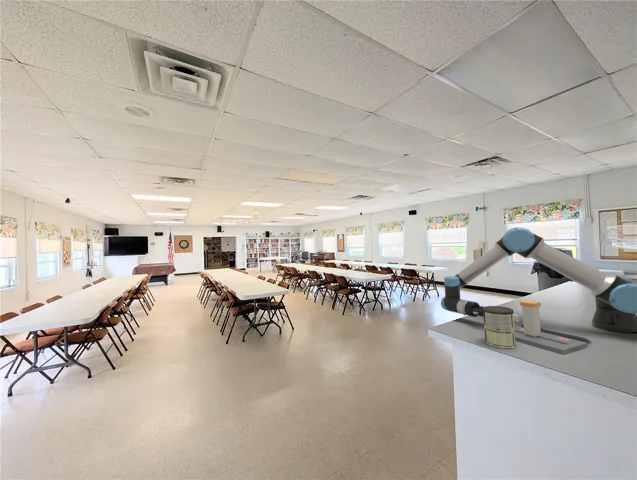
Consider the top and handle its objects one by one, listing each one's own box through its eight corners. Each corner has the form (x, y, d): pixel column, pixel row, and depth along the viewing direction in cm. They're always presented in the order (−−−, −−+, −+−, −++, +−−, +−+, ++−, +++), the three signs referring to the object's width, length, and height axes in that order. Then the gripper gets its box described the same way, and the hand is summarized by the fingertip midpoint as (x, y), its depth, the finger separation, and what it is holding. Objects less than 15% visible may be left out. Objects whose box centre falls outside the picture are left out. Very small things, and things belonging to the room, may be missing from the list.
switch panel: (491, 333, 116) (491, 330, 116) (514, 328, 121) (513, 325, 122) (563, 354, 91) (563, 350, 91) (587, 346, 97) (587, 342, 97)
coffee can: (479, 339, 109) (477, 306, 110) (505, 339, 108) (503, 305, 109) (493, 348, 99) (491, 311, 100) (522, 348, 98) (519, 311, 98)
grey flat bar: (521, 329, 120) (520, 324, 120) (527, 327, 122) (526, 323, 122) (587, 345, 99) (586, 339, 99) (593, 343, 100) (592, 337, 101)
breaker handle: (522, 333, 109) (519, 301, 109) (529, 332, 111) (527, 300, 111) (535, 337, 104) (533, 303, 105) (543, 335, 106) (540, 302, 107)
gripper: (478, 313, 136) (528, 325, 114) (460, 317, 131) (508, 329, 109) (477, 299, 136) (526, 308, 115) (459, 302, 132) (507, 311, 110)
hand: (518, 318), depth 112 cm, fingers closed
